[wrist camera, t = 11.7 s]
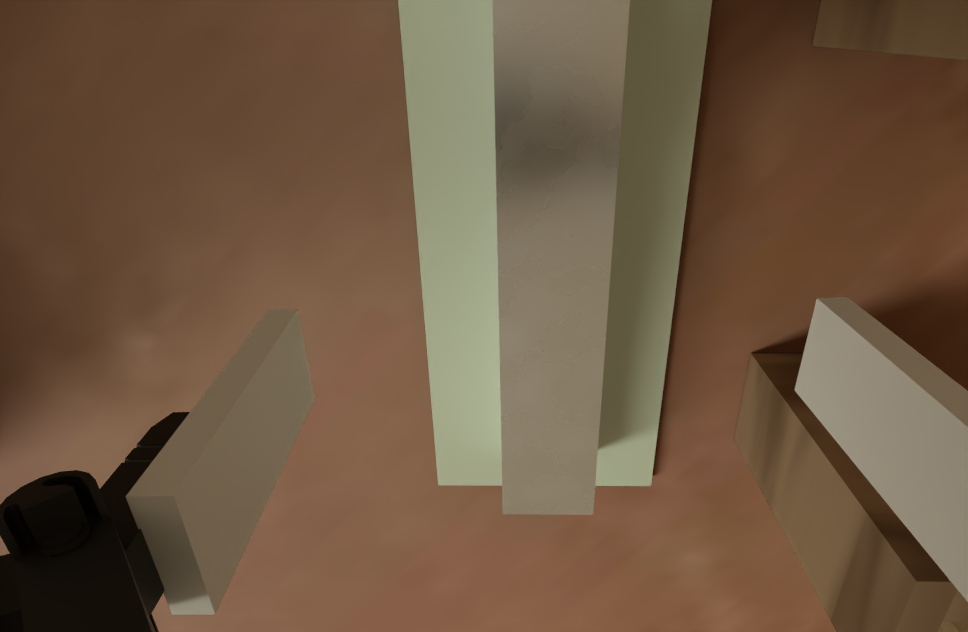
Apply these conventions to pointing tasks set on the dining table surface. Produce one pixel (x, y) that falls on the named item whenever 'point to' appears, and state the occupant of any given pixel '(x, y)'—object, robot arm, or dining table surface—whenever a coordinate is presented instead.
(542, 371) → the rail
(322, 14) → the dining table surface
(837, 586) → the post
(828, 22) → the post
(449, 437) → the mat
